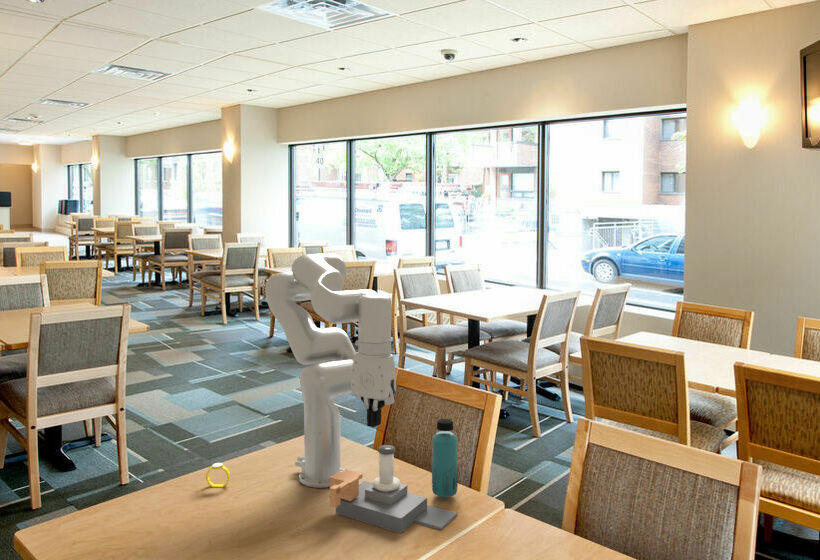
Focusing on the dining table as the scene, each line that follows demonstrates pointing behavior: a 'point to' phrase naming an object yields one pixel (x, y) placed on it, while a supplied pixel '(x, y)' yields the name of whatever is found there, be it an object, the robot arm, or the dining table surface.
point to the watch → (218, 466)
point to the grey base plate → (384, 507)
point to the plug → (386, 470)
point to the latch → (344, 486)
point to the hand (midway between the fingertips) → (373, 425)
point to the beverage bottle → (444, 460)
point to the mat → (435, 517)
